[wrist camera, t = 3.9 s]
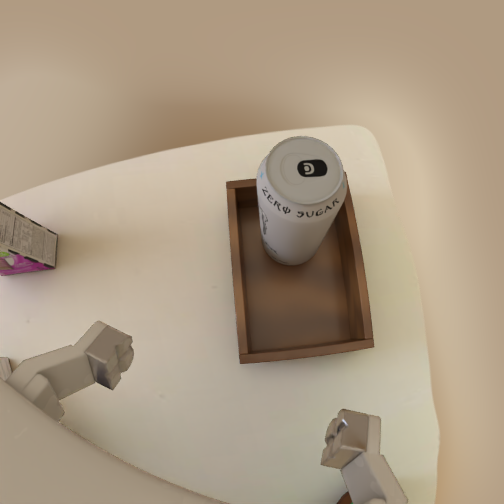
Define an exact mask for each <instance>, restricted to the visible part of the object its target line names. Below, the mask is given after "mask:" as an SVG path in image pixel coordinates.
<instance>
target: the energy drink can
mask: <svg viewBox="0 0 504 504" xmlns="http://www.w3.org/2000/svg"><path fill="white" fill-rule="evenodd" d="M346 192H347V179H346V175H345V172H344V170H343V165H342V163H341V160H340V158H339V156H338V155H337V153H336V152H335V151H334V150H333V148H331V147H330V146H329V145H328V144H326V143H324V142H323V141H321V140H318V139H316V138H312V137H307V136H297V137H291V138H288V139H285V140H283V141H281V142H279V143H278V144H277V145H276V146H274V147H273V149H272V150H271V151H270V153H269V154H268V155H267V156H266V157H265V159H264V160H263V161H262V163H261V165H260V167H259V169H258V173H257V195H258V206H259V217H260V228H261V239H262V244H263V247H264V249H265V251H266V252H267V254H268V255H269V256H270V257H271V258H272V259H274V260H275V261H277V262H279V263H281V264H285V265H299V264H302V263H304V262H306V261H308V260H309V259H311V258H312V257H313V256H314V255H315V253H316V252H317V250H318V248H319V246H320V245H321V243H322V241H323V239H324V237H325V235H326V234H327V232H328V230H329V228H330V226H331V224H332V222H333V221H334V219H335V217H336V215H337V213H338V211H339V209H340V207H341V206H342V204H343V202H344V199H345V196H346Z"/></svg>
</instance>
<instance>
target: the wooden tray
mask: <svg viewBox="0 0 504 504" xmlns="http://www.w3.org/2000/svg"><path fill="white" fill-rule="evenodd" d="M345 175H346V172H345ZM346 179H347V175H346ZM226 188H227V204H228V219H229V233H230V247H231V261H232V274H233V287H234V300H235V312H236V324H237V336H238V347H239V354H240V355H239V359H240V364H246V363H259V362H270V361H280V360H289V359H298V358H307V357H315V356H322V355H329V354H336V353H343V352H349V351H356V350H362V349H367V348H373V347H374V340H373V331H372V322H371V313H370V305H369V297H368V290H367V283H366V276H365V270H364V263H363V257H362V251H361V245H360V240H359V234H358V229H357V223H356V218H355V213H354V208H353V203H352V198H351V194H350V189H349V185H348V180H347V192H346V196H345V199H344V202H343V204H342V206H341V207H340V209H339V211H338V213H337V215H336V217H335V219H334V221H333V222H332V224H331V226H330V228H329V230H328V232H327V234H326V235H325V237H324V239H323V241H322V243H321V245H320V246H319V248H318V250H317V252H316V253H315V255H314V256H313V257H312V258H311V259H309V260H308V261H306V262H304V263H302V264H299V265H285V264H281V263H279V262H277V261H275V260H274V259H272V258H271V257H270V256H269V255H268V254H267V252H266V251H265V249H264V247H263V244H262V239H261V228H260V217H259V206H258V195H257V179H247V180H238V181H229V182H226Z"/></svg>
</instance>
